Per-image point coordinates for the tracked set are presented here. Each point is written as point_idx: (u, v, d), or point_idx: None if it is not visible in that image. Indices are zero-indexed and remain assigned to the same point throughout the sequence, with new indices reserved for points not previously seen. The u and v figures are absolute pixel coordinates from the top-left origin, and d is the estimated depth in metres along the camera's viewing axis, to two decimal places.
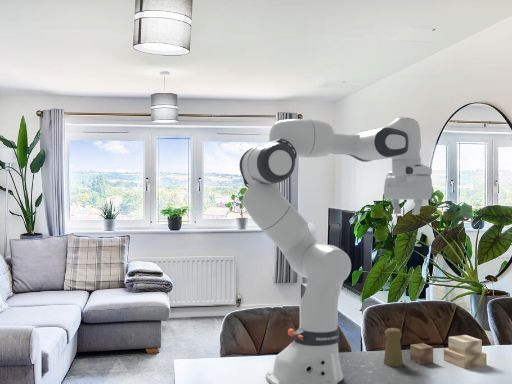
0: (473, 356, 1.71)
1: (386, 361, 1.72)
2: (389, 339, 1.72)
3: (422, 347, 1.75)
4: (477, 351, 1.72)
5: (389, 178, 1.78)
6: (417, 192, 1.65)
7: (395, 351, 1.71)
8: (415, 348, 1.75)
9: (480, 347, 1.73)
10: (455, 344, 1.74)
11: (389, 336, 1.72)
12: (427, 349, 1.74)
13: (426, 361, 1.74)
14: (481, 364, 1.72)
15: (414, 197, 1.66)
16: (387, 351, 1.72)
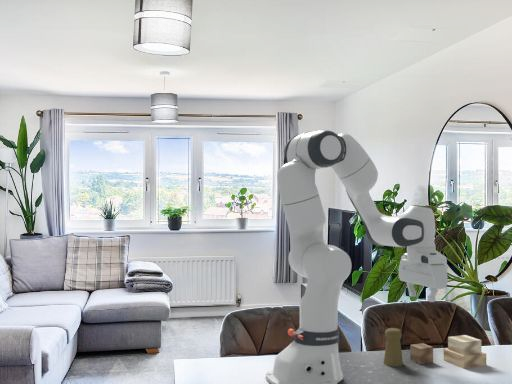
0: (473, 356, 1.71)
1: (386, 361, 1.72)
2: (389, 339, 1.72)
3: (422, 347, 1.75)
4: (477, 351, 1.72)
5: (404, 261, 1.82)
6: (432, 281, 1.69)
7: (395, 351, 1.71)
8: (415, 348, 1.75)
9: (480, 347, 1.73)
10: (454, 344, 1.74)
11: (389, 336, 1.72)
12: (427, 349, 1.74)
13: (426, 361, 1.74)
14: (481, 364, 1.72)
15: (430, 285, 1.70)
16: (387, 351, 1.72)
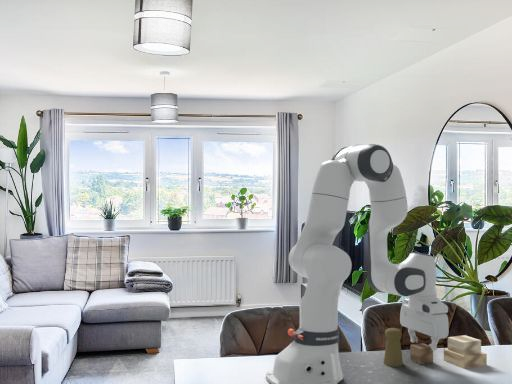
0: (473, 356, 1.70)
1: (386, 361, 1.72)
2: (389, 339, 1.72)
3: (422, 347, 1.74)
4: (476, 351, 1.72)
5: (405, 307, 1.82)
6: (433, 331, 1.69)
7: (395, 351, 1.71)
8: (415, 348, 1.75)
9: (479, 347, 1.73)
10: (454, 344, 1.74)
11: (389, 336, 1.72)
12: (427, 349, 1.74)
13: (426, 361, 1.74)
14: (481, 364, 1.72)
15: (431, 335, 1.70)
16: (387, 351, 1.72)
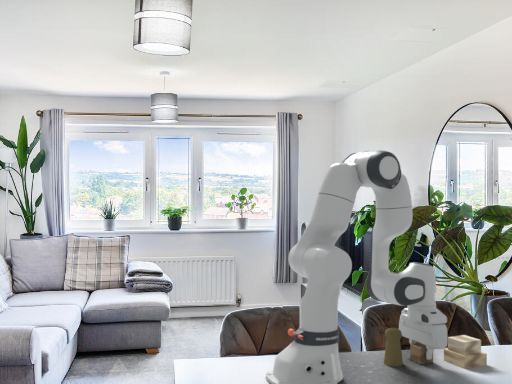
0: (473, 356, 1.71)
1: (386, 361, 1.72)
2: (389, 339, 1.72)
3: (422, 347, 1.75)
4: (477, 351, 1.72)
5: (404, 316, 1.82)
6: (432, 341, 1.69)
7: (395, 351, 1.71)
8: (415, 348, 1.75)
9: (479, 347, 1.73)
10: (454, 344, 1.74)
11: (389, 336, 1.72)
12: None
13: (426, 361, 1.74)
14: (481, 364, 1.72)
15: (430, 345, 1.70)
16: (387, 351, 1.72)
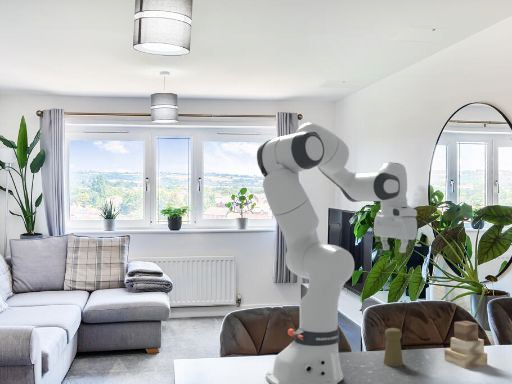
0: (474, 356, 1.71)
1: (386, 361, 1.72)
2: (389, 339, 1.72)
3: (467, 324, 1.73)
4: (480, 351, 1.73)
5: (378, 217, 1.93)
6: (403, 233, 1.79)
7: (395, 351, 1.71)
8: (460, 325, 1.74)
9: (482, 347, 1.73)
10: (458, 345, 1.74)
11: (389, 336, 1.72)
12: (472, 326, 1.73)
13: (471, 338, 1.73)
14: (482, 364, 1.72)
15: (401, 237, 1.80)
16: (387, 351, 1.72)
